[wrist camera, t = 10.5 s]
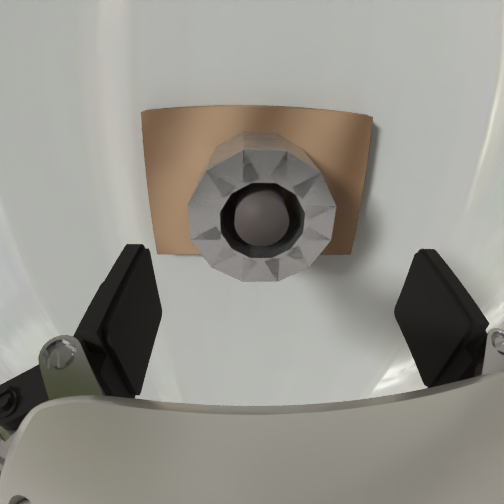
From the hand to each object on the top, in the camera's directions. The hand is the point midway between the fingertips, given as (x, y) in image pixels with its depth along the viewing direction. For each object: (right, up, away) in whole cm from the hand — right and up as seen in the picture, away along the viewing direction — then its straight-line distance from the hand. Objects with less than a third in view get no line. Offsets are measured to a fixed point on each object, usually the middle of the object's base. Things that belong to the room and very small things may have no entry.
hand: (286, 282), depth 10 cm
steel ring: (-1, +5, +8) cm, 10 cm away
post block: (-1, +6, +9) cm, 11 cm away
